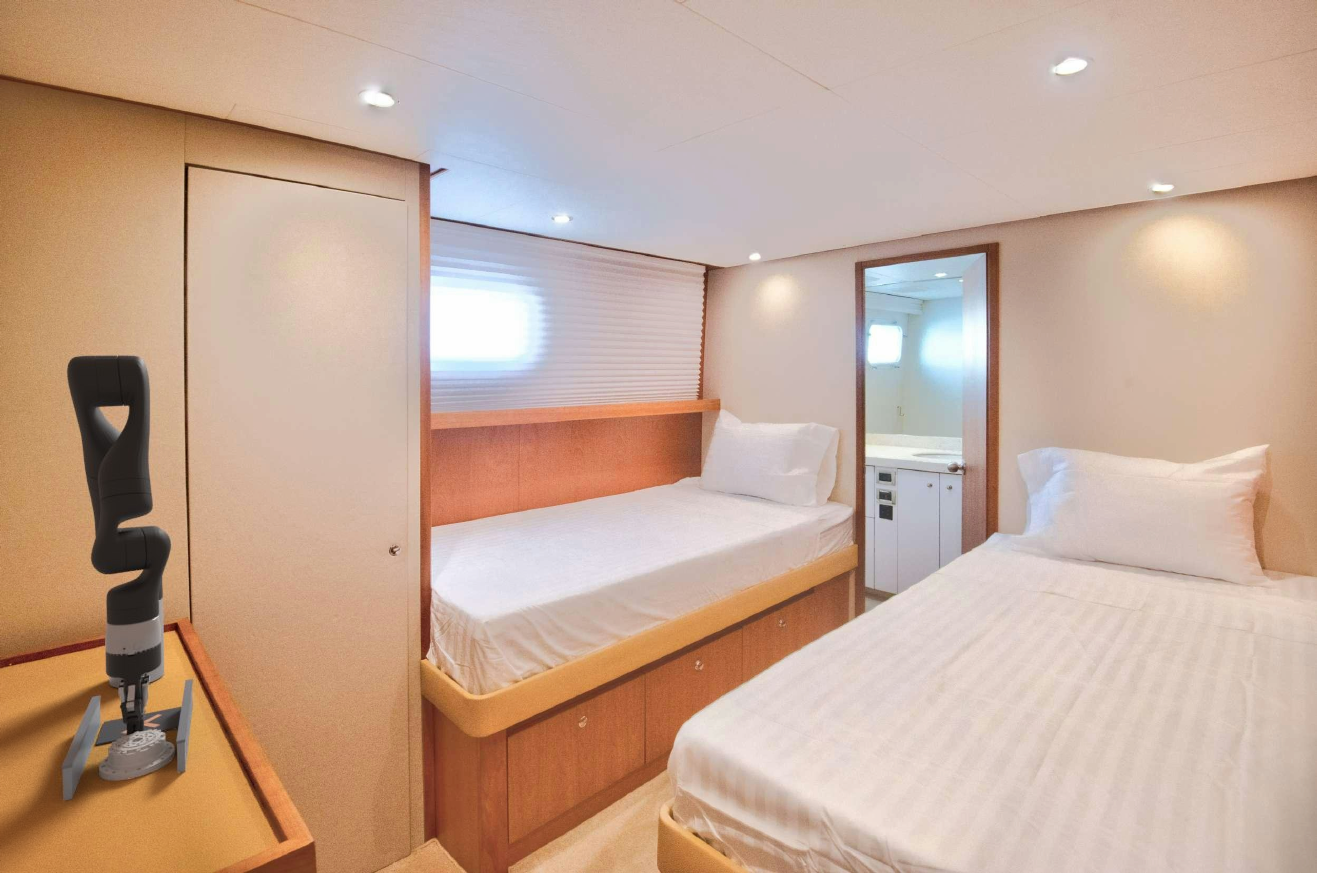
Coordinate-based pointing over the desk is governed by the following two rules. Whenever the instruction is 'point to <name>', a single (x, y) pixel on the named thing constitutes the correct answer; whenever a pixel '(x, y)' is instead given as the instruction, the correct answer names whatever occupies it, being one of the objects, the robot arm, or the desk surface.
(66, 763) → the plastic channel
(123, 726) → the pad
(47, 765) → the desk surface
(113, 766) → the mechanical component
